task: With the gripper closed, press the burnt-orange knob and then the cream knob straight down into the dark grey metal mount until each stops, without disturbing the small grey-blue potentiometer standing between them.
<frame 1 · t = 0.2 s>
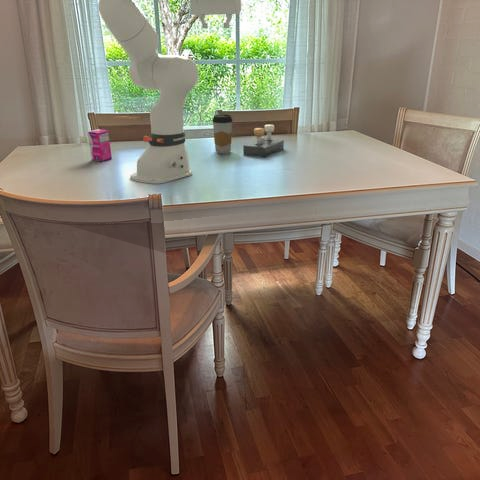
hand: (215, 28, 167), 47 cm above the table, fingers open, 8 cm apart
knob cream: (269, 133, 190), point 7 cm above the table, slide at 0.0 cm
coffee cup: (223, 152, 190), on the table
supplement box: (101, 160, 179), on the table
knob orange: (258, 137, 183), point 7 cm above the table, slide at 0.0 cm
mount: (263, 152, 189), on the table
potentiometer: (260, 142, 188), point 4 cm above the table, touching mount
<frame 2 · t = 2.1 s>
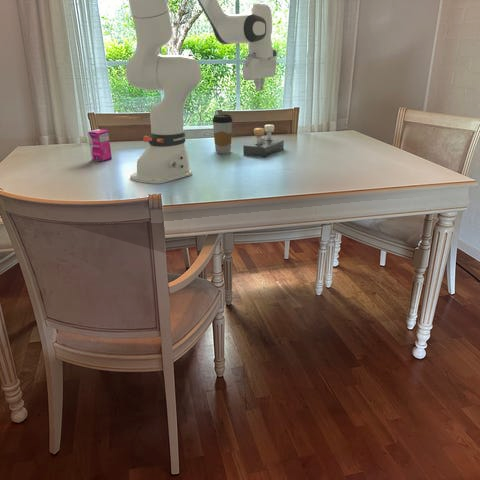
hand: (259, 90, 175), 25 cm above the table, fingers closed
nothing on the table moved.
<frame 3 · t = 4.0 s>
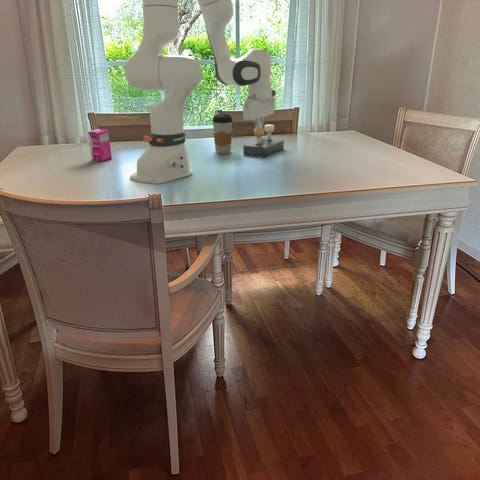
hand: (259, 129, 182), 10 cm above the table, fingers closed, pressing on knob orange
knob orange: (258, 137, 183), point 7 cm above the table, slide at 0.2 cm, touching gripper
everything else where it was.
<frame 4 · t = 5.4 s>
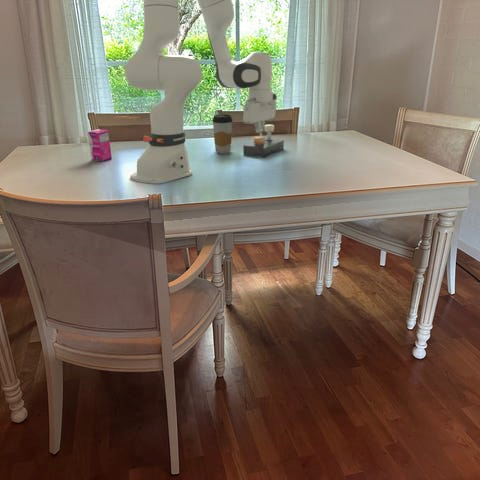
hand: (259, 132, 181), 9 cm above the table, fingers closed
knob orange: (258, 145, 184), point 4 cm above the table, slide at 3.5 cm
everything else where it was.
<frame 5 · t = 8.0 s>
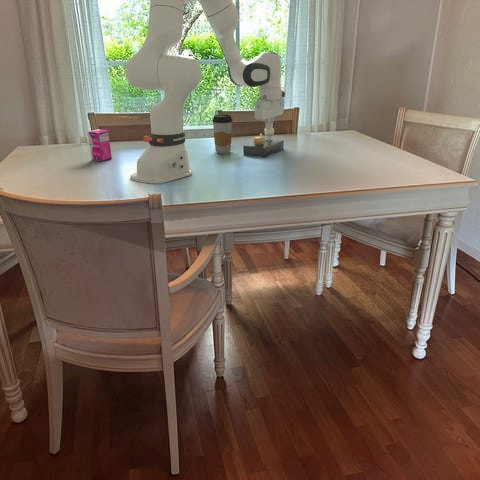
hand: (269, 128, 189), 9 cm above the table, fingers closed, pressing on knob cream
knob cream: (269, 136, 190), point 6 cm above the table, slide at 1.4 cm, touching gripper
everything else where it was.
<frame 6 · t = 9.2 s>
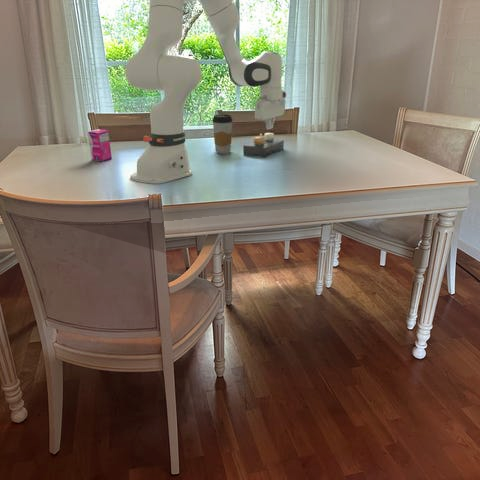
hand: (269, 128, 188), 9 cm above the table, fingers closed
knob cream: (269, 141, 191), point 4 cm above the table, slide at 3.5 cm
everything else where it was.
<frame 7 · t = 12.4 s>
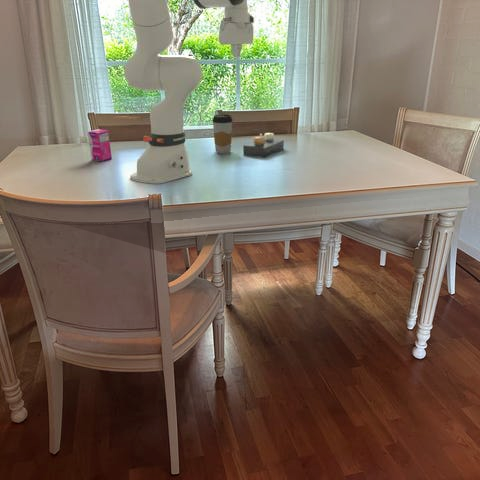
hand: (236, 57, 176), 37 cm above the table, fingers closed
nothing on the table moved.
at the end: knob orange slide at 3.5 cm; knob cream slide at 3.5 cm; potentiometer moved 0.0 cm from its start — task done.
